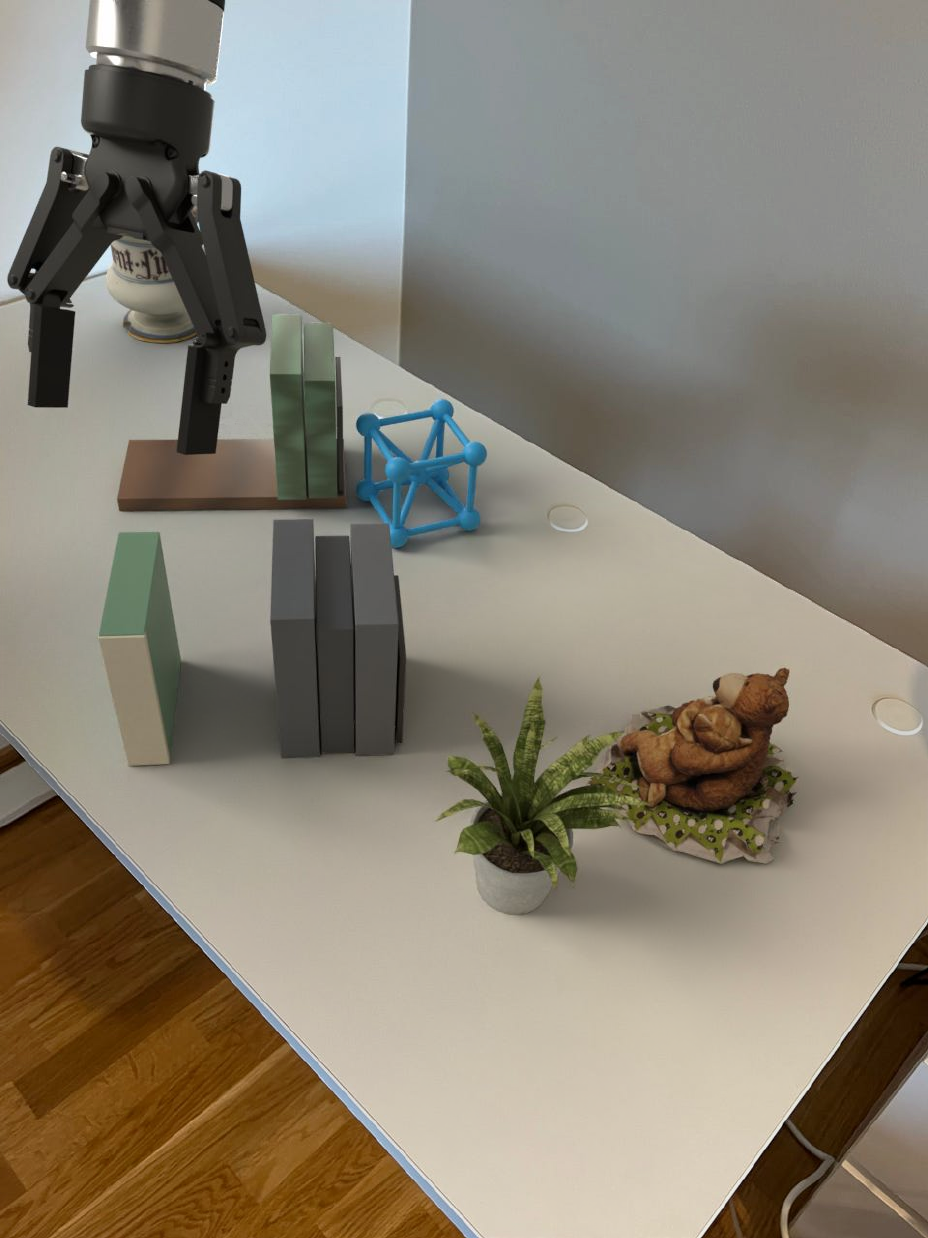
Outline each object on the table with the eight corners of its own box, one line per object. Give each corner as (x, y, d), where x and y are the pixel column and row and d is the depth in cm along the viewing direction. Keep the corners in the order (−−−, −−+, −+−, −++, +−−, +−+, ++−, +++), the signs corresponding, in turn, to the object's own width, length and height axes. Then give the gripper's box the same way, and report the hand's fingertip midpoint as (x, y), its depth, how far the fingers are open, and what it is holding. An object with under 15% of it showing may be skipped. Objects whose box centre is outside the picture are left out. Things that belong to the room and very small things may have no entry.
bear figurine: (630, 695, 91) (658, 589, 82) (804, 762, 87) (852, 657, 78) (572, 811, 81) (596, 705, 73) (764, 892, 77) (813, 789, 69)
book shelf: (118, 514, 103) (90, 373, 93) (131, 448, 111) (107, 311, 101) (346, 511, 106) (345, 374, 96) (343, 447, 114) (342, 314, 103)
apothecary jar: (97, 313, 131) (69, 164, 118) (188, 291, 137) (170, 146, 124) (139, 358, 124) (114, 205, 112) (232, 332, 130) (219, 184, 117)
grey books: (281, 759, 83) (270, 620, 73) (283, 656, 91) (273, 518, 81) (403, 754, 84) (409, 617, 74) (394, 653, 92) (399, 516, 82)
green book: (128, 767, 82) (97, 637, 72) (143, 661, 90) (117, 531, 80) (169, 765, 82) (144, 635, 72) (181, 660, 90) (160, 531, 80)
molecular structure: (388, 554, 102) (390, 469, 95) (352, 494, 108) (352, 410, 101) (483, 532, 105) (492, 448, 98) (443, 475, 112) (448, 392, 105)
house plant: (515, 1035, 68) (546, 897, 57) (366, 899, 75) (367, 751, 64) (645, 897, 76) (694, 752, 65) (500, 785, 83) (523, 636, 72)
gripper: (357, 111, 62) (304, 471, 68) (59, 76, 72) (37, 390, 78) (273, 76, 55) (223, 477, 61) (-40, 43, 66) (-56, 388, 72)
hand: (118, 429), depth 70 cm, fingers open, 13 cm apart
